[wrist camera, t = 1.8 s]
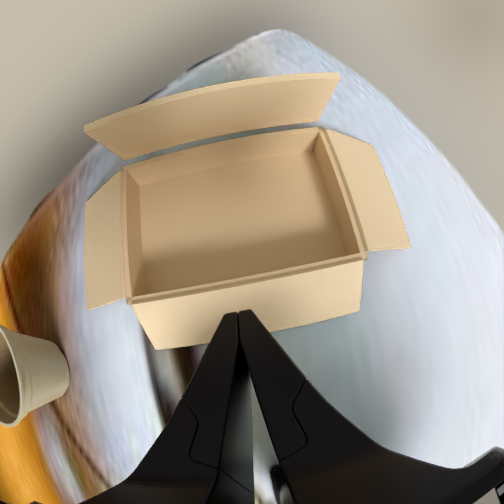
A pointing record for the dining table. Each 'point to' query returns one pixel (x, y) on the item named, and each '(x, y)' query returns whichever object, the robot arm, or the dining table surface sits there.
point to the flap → (214, 112)
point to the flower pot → (28, 375)
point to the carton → (240, 233)
